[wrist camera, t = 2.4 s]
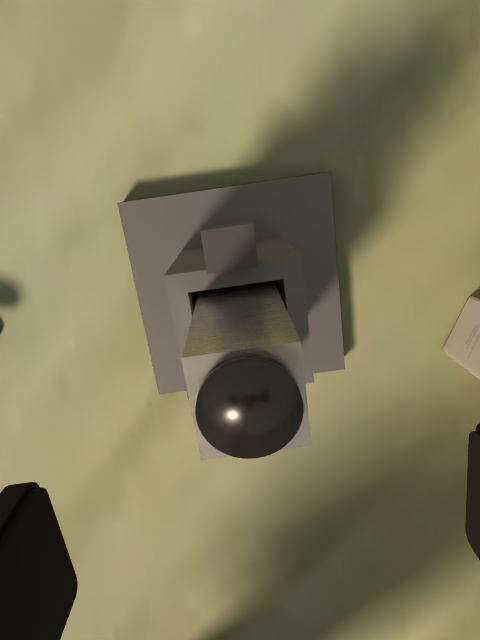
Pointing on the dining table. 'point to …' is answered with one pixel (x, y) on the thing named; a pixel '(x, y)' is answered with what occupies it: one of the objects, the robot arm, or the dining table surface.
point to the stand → (237, 263)
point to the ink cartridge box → (466, 338)
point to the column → (245, 373)
